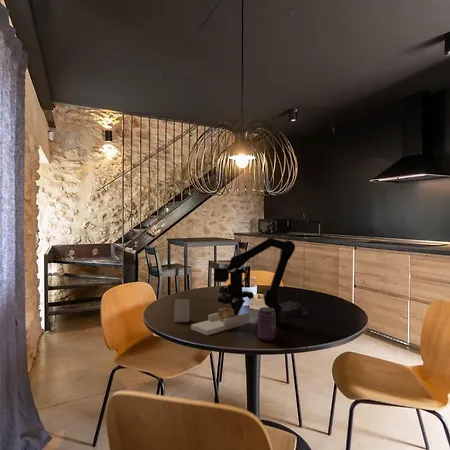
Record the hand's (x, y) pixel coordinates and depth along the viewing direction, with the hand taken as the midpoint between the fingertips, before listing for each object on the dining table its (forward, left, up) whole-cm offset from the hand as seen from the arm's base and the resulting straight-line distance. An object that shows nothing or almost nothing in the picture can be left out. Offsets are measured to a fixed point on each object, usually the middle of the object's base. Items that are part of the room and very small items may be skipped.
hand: (236, 315), depth 161 cm
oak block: (0, +7, -1) cm, 7 cm away
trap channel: (0, +10, -3) cm, 10 cm away
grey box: (+19, +18, -3) cm, 26 cm away
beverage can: (-25, +8, -3) cm, 26 cm away
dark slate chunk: (-5, -36, -4) cm, 37 cm away
